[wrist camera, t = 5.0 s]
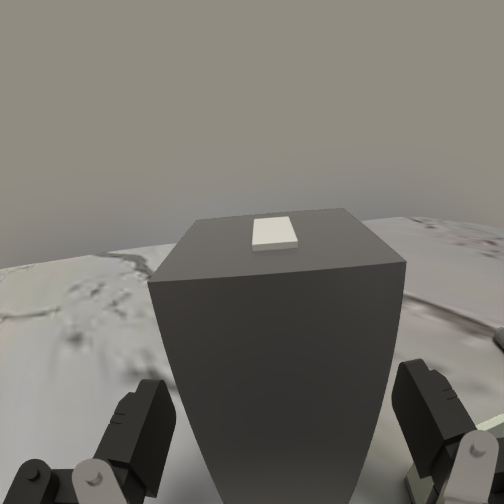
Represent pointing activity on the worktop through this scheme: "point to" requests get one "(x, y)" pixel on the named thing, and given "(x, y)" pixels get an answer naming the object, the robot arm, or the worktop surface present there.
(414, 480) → the two-compartment tray
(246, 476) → the block
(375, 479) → the worktop surface
